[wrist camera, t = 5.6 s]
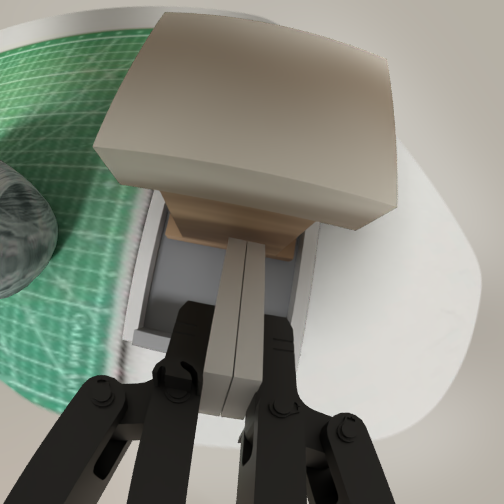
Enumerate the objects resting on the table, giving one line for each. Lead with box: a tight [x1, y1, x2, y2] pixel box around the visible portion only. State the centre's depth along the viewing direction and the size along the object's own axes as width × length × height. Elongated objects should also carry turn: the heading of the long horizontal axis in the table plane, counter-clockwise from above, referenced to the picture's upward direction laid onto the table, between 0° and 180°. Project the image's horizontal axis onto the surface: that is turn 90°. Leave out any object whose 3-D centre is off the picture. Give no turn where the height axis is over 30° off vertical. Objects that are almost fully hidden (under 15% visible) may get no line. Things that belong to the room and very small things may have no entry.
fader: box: [93, 12, 397, 262], centre depth 11 cm, size 4×7×12 cm, turn 80°
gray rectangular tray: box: [122, 190, 320, 372], centre depth 18 cm, size 20×10×4 cm, turn 170°
